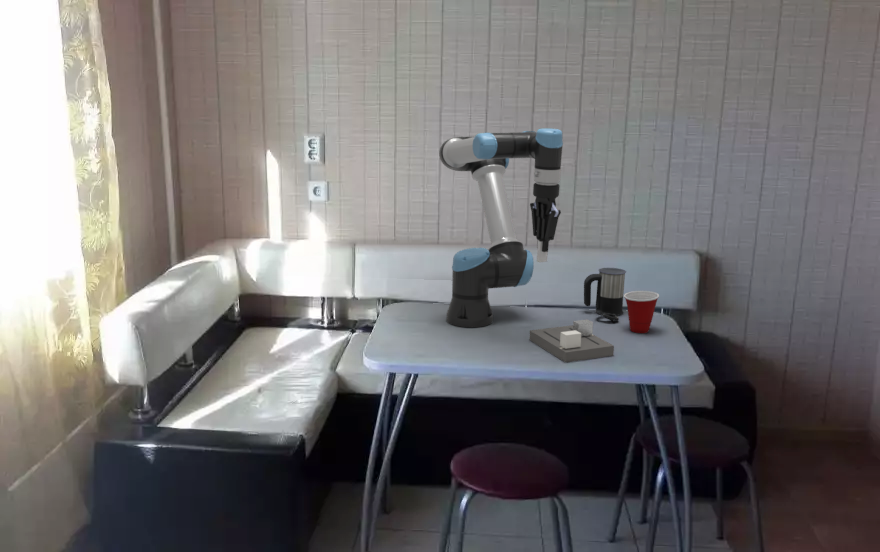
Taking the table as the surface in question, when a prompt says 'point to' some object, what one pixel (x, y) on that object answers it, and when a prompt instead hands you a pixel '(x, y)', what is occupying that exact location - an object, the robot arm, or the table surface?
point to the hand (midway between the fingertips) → (541, 261)
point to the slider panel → (588, 349)
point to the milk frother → (607, 292)
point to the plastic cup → (640, 309)
